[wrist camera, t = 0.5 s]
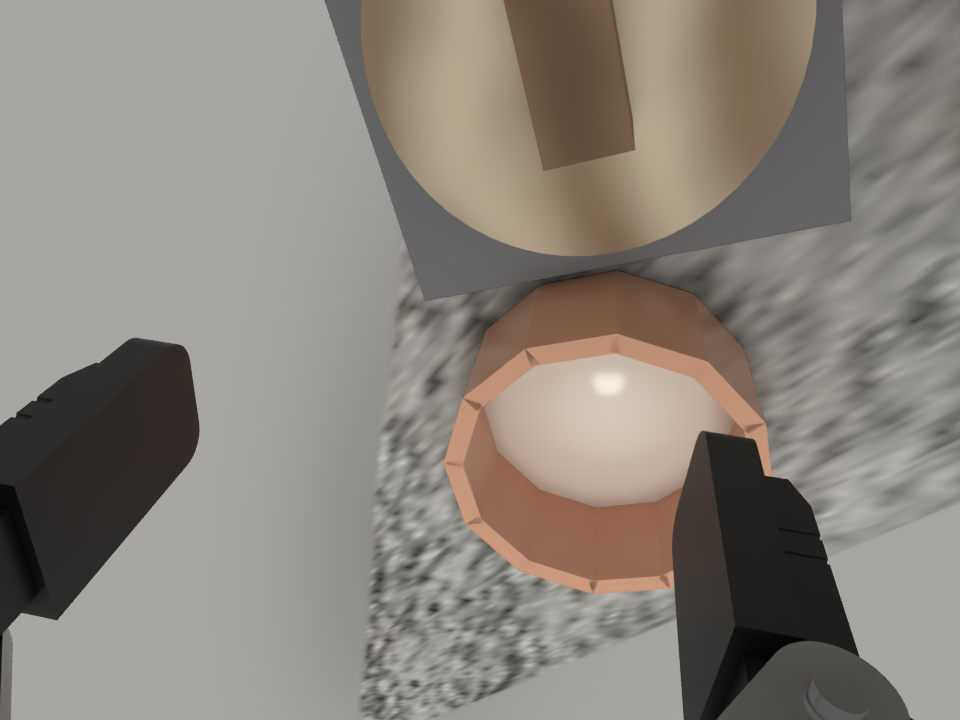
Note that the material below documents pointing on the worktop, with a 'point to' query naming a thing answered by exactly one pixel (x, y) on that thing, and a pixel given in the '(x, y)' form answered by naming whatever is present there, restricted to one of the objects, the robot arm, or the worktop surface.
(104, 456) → the robot arm
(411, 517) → the worktop surface
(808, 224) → the mat
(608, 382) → the bowl
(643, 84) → the lid
